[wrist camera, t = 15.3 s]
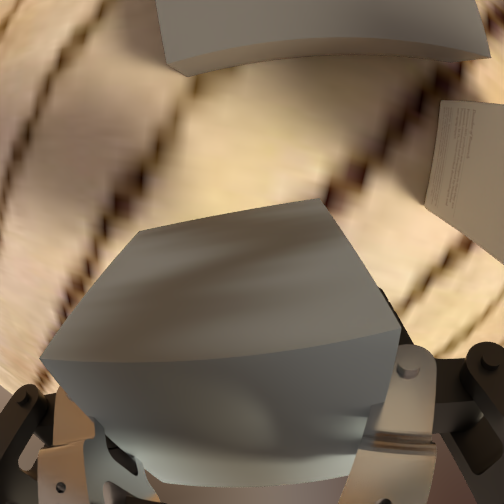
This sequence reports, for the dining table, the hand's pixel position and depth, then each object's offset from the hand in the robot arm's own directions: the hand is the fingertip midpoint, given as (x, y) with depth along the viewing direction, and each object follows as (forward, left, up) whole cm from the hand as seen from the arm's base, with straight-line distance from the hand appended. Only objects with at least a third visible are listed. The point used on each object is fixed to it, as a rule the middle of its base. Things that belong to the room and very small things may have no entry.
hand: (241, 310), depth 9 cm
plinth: (-7, -17, -8) cm, 20 cm away
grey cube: (0, 0, -1) cm, 1 cm away
